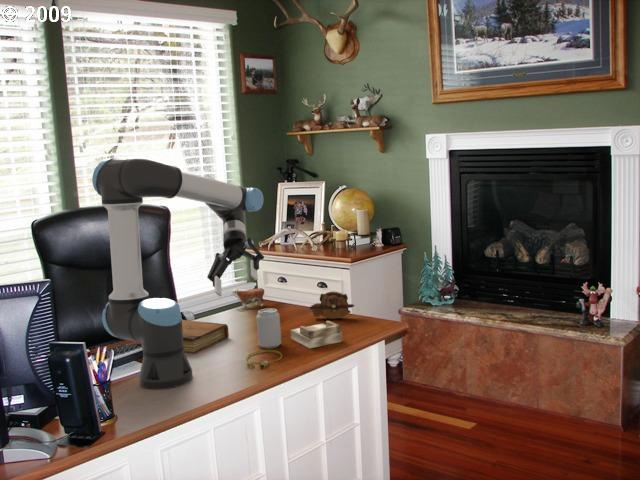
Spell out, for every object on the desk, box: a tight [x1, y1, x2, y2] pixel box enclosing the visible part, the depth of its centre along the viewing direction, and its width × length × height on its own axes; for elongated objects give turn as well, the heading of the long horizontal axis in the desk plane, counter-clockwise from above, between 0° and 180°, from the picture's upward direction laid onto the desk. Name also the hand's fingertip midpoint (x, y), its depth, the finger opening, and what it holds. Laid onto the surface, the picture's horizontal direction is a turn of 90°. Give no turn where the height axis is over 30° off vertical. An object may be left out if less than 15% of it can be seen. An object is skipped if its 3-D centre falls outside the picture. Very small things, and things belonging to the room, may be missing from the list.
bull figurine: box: [230, 287, 265, 310], centre depth 294 cm, size 4×13×8 cm, turn 100°
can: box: [256, 307, 282, 349], centre depth 240 cm, size 8×8×12 cm
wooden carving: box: [309, 290, 355, 320], centre depth 268 cm, size 16×5×10 cm, turn 83°
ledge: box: [290, 320, 343, 349], centre depth 243 cm, size 12×14×6 cm
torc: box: [245, 349, 283, 370], centre depth 226 cm, size 12×16×2 cm
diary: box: [182, 319, 230, 355], centre depth 250 cm, size 23×19×6 cm
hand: (236, 286), depth 230 cm, fingers open, 13 cm apart
